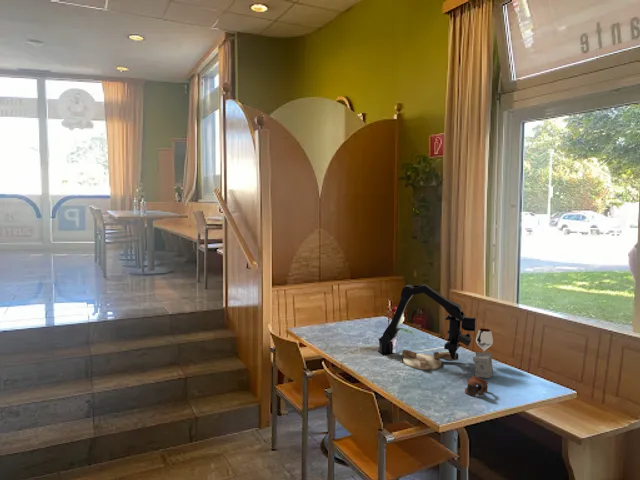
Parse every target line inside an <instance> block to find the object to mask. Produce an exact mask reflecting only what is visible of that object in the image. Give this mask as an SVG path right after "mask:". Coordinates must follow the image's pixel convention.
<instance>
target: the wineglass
mask: <svg viewBox="0 0 640 480" xmlns="http://www.w3.org/2000/svg"><path fill="white" fill-rule="evenodd" d="M477 331H478V332H477V333H476V338H475V342H476V344H477V346H478V347H479V348H481V350H482V352H485V351H486V350H487V349H489V348H490V347H491V346H492V345H493V343H494V338H493V334H492V330H491V329H489V328H485V327H484V328H483V327H481V328H479V329H478V330H477Z"/></svg>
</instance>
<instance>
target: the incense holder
mask: <svg viewBox="0 0 640 480" xmlns="http://www.w3.org/2000/svg"><path fill="white" fill-rule="evenodd" d="M472 362H473V363H474V365H475V373H474V376H475V377H478V378H484V379H485V378H486V379H490V378H491V376H492V374H493V371H494V369H493V368H494V367H493V361H492V353H491V352H490V351H489V352H488V351H487V352H483V351H482V352H478V351H477V352H475V356H473V357H472Z"/></svg>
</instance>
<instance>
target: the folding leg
mask: <svg viewBox="0 0 640 480" xmlns="http://www.w3.org/2000/svg"><path fill="white" fill-rule="evenodd" d="M432 356H433V357H434V359H440V360H456V361H458V360H459V353H458V352H456V354H455V358H454V359H452V358H451V355H450V353H442V351H441V352H440V351H433V355H432Z"/></svg>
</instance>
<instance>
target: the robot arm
mask: <svg viewBox="0 0 640 480" xmlns="http://www.w3.org/2000/svg"><path fill="white" fill-rule="evenodd" d="M419 294H425V295H426V296H427V297H428V298H430V299H432V300H433V301H434V302H435V303H437V304H439V305H440V306H441V307H442V308H444V310H445V312H446V313H448V315H447V316H446V317H445V318H444V319H445V320H446V321H447V320H448V330H447V334H448V338H447V339H446V340H447V341H446V343H444V346H443V347H444V348H443V349H444V350H446V351H449V353H450V355H451V358H452V359H451V360H455V359H454V358H455V354H456V353H457V352H458V350H459V348H460V347H461V344H460V343H462V344H463V345H465V346H467V347H469V346H470V344H471V342H472V340H473V339H472V337H471V334H470V333H468V332H476V330H477V320H476V319H477V318H476V317H473V316H472V317H469V316H466V314H465V313H464V312H463V308H462V305H460V304H459V303H457V302H455V301H453V300H450V299H447V298H446V297H444V296H443V295H442V294H440V293H439V292H437V290H434V289H433V288H432V287H431V286H429V285H428V284H426V283H425V284H417V285H412V284H407V285H405V286H404V287H402V290H401V293H400V297H399V299H400V301H399V302H398V304H397V307H396V310H395V312H394V314H393V316H392V318H391V321H390V323H389V324H388V326H387V327H386V328H385V330H384V331H383V333H382V335H381V336H380V337H379V338H378V342H379V343H378V345H379V347H378V350H377V352H378V353H380V354H381V355H382V356H386V355H388V356H389V355H394V344H393V339H396V337H397V336H399V335H398V334H399V332H400V330H401V329H400V328H398V327H399V324H400V322H401V318H402V316H403V314H404V312H405V309H406V308H407V306H408V303H409V301H410V300H411V299H412V298H413V296H415V295H419ZM461 328H462V330H463V331H468V332H467V333H466V334H463V333H462V330H461Z"/></svg>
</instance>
